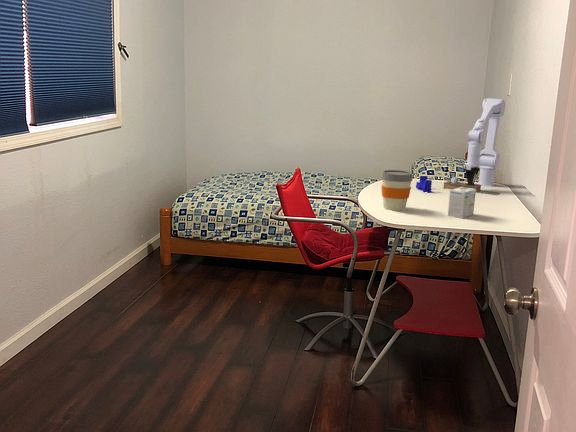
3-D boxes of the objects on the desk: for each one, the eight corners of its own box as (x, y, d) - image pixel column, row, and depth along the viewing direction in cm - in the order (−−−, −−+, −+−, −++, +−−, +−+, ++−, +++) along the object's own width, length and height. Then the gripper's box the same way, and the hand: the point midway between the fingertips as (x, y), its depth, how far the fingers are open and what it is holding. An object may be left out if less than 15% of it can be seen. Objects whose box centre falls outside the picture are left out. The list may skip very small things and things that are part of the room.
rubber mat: (484, 191, 317) (484, 190, 317) (501, 193, 314) (501, 192, 313) (480, 193, 311) (480, 193, 311) (497, 196, 307) (497, 195, 307)
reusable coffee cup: (386, 211, 262) (389, 175, 259) (374, 205, 274) (377, 170, 271) (414, 211, 266) (418, 175, 262) (401, 204, 277) (404, 170, 274)
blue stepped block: (415, 188, 319) (417, 175, 318) (425, 188, 320) (426, 176, 318) (421, 192, 308) (422, 180, 306) (430, 193, 308) (431, 180, 307)
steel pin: (468, 187, 319) (470, 171, 317) (474, 188, 317) (476, 172, 315) (466, 188, 316) (468, 172, 314) (472, 189, 315) (474, 172, 313)
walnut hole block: (448, 186, 326) (448, 180, 326) (480, 190, 318) (481, 184, 318) (443, 188, 319) (444, 182, 319) (476, 193, 312) (476, 187, 311)
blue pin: (451, 187, 323) (452, 177, 322) (457, 188, 321) (458, 177, 320) (449, 188, 320) (451, 177, 319) (455, 189, 319) (457, 178, 318)
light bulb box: (458, 212, 268) (461, 186, 266) (474, 214, 264) (476, 188, 262) (446, 215, 260) (449, 189, 258) (462, 218, 256) (465, 191, 254)
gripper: (469, 152, 321) (466, 180, 324) (461, 155, 309) (458, 183, 312) (484, 154, 318) (481, 181, 321) (476, 157, 305) (473, 185, 308)
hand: (470, 183), depth 316 cm, fingers closed on steel pin, 3 cm apart
